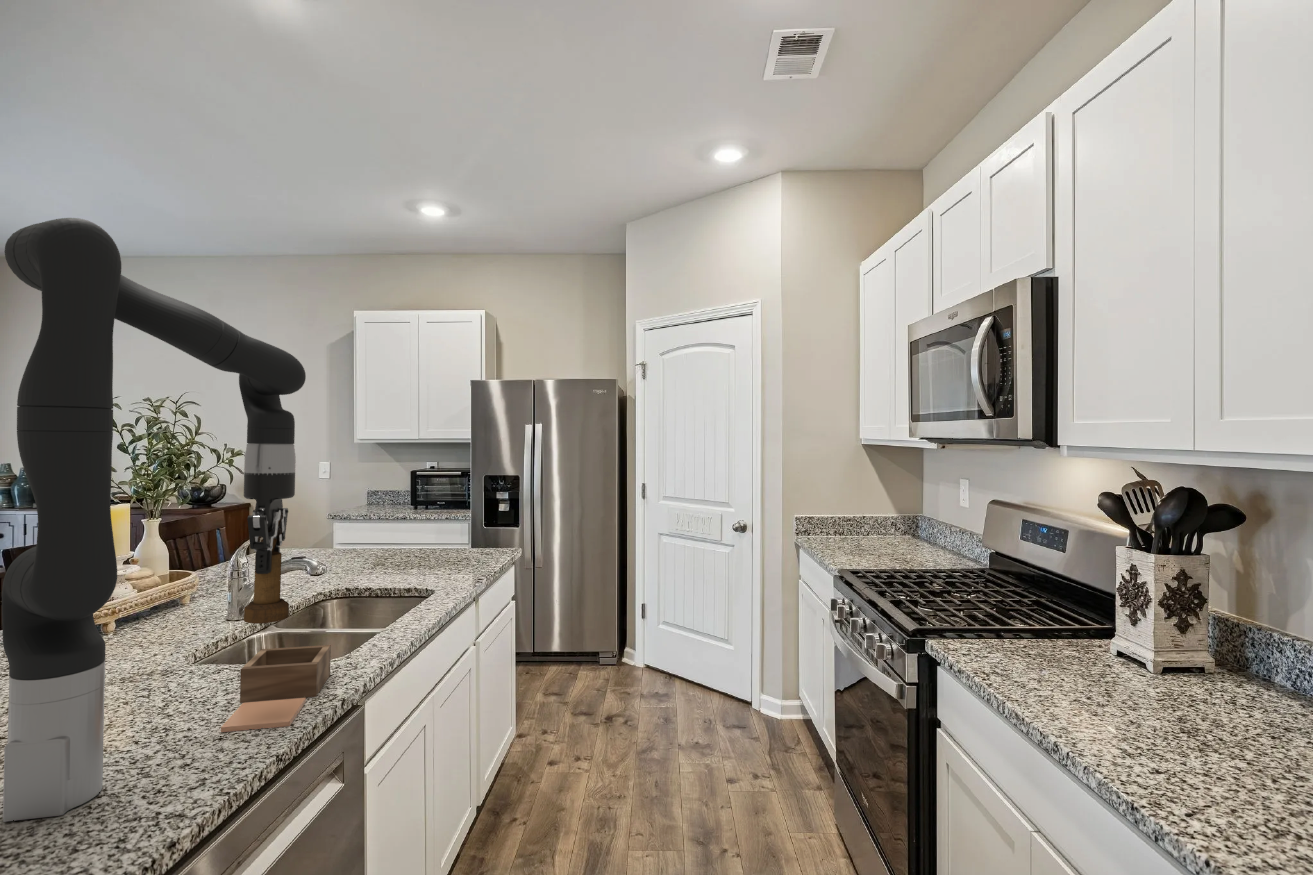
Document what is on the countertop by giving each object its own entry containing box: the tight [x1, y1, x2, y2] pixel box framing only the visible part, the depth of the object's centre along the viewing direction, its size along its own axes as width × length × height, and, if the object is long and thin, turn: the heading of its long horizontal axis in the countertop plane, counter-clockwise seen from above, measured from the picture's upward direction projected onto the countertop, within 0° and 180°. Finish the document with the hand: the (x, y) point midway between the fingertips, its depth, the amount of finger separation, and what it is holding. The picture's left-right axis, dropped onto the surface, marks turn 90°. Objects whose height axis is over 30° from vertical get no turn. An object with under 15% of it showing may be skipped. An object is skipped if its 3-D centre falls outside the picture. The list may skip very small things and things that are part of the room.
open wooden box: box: [239, 644, 332, 704], centre depth 123 cm, size 11×12×6 cm
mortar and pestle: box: [243, 520, 290, 625], centre depth 110 cm, size 7×6×18 cm
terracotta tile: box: [220, 697, 307, 733], centre depth 110 cm, size 10×10×1 cm
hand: (267, 570), depth 110 cm, fingers closed on mortar and pestle, 4 cm apart
